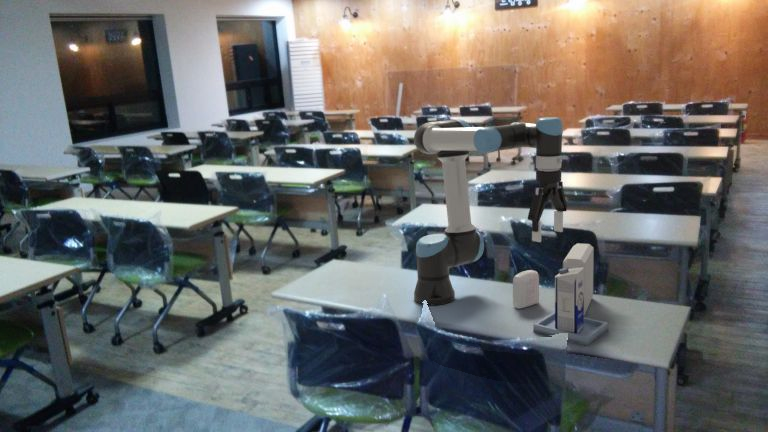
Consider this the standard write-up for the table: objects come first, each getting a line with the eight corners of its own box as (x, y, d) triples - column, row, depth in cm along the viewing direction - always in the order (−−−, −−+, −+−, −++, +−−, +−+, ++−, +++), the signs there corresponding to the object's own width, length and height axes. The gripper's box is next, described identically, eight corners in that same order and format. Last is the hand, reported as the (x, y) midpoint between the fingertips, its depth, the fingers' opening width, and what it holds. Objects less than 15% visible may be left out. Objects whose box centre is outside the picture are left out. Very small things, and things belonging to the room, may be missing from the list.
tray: (533, 331, 196) (533, 324, 195) (555, 317, 206) (555, 310, 205) (587, 345, 184) (587, 338, 183) (608, 330, 193) (608, 322, 193)
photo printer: (532, 299, 223) (531, 266, 220) (541, 302, 220) (540, 269, 217) (511, 306, 218) (510, 273, 215) (520, 310, 214) (519, 276, 212)
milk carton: (576, 336, 188) (576, 273, 184) (554, 332, 192) (554, 270, 188) (583, 327, 194) (584, 266, 189) (562, 324, 198) (562, 264, 193)
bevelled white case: (570, 295, 225) (570, 242, 221) (593, 297, 221) (594, 243, 217) (558, 316, 207) (558, 258, 202) (584, 319, 203) (584, 260, 199)
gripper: (538, 176, 178) (538, 247, 183) (579, 163, 195) (577, 229, 200) (516, 174, 183) (515, 243, 188) (557, 162, 200) (556, 225, 205)
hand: (547, 236), depth 194 cm, fingers open, 13 cm apart
